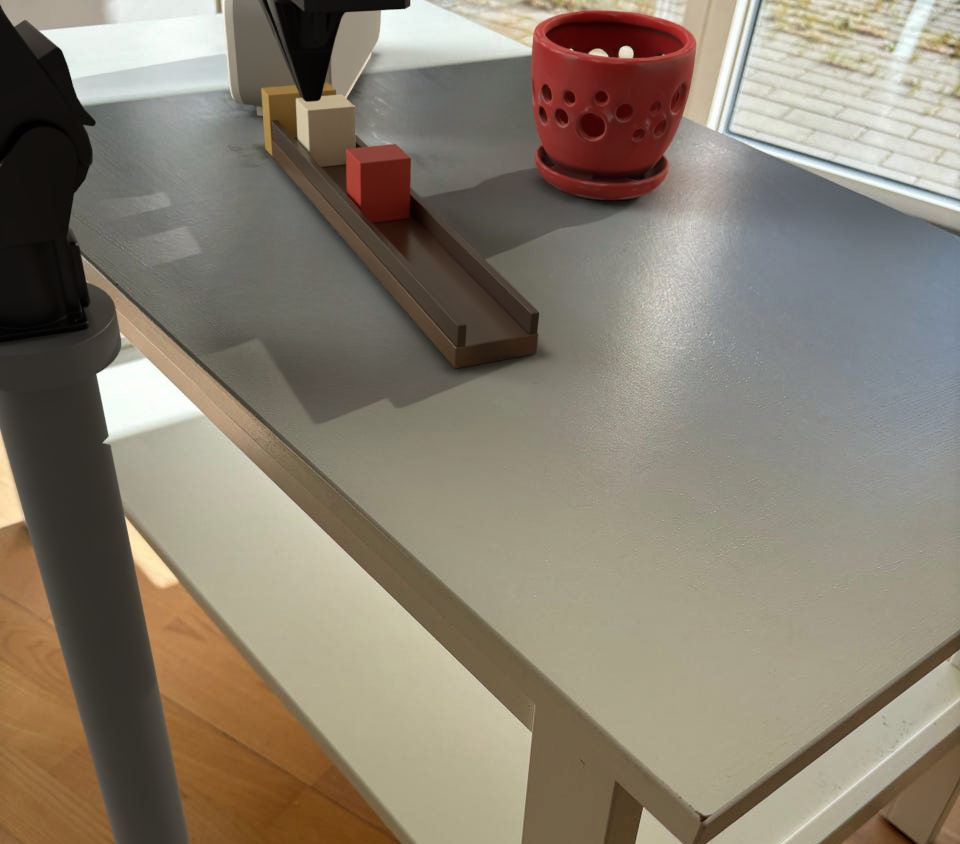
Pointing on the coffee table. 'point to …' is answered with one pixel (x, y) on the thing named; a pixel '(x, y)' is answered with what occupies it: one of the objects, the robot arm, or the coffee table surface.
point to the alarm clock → (262, 61)
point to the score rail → (421, 266)
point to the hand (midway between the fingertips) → (310, 99)
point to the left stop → (283, 109)
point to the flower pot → (608, 100)
